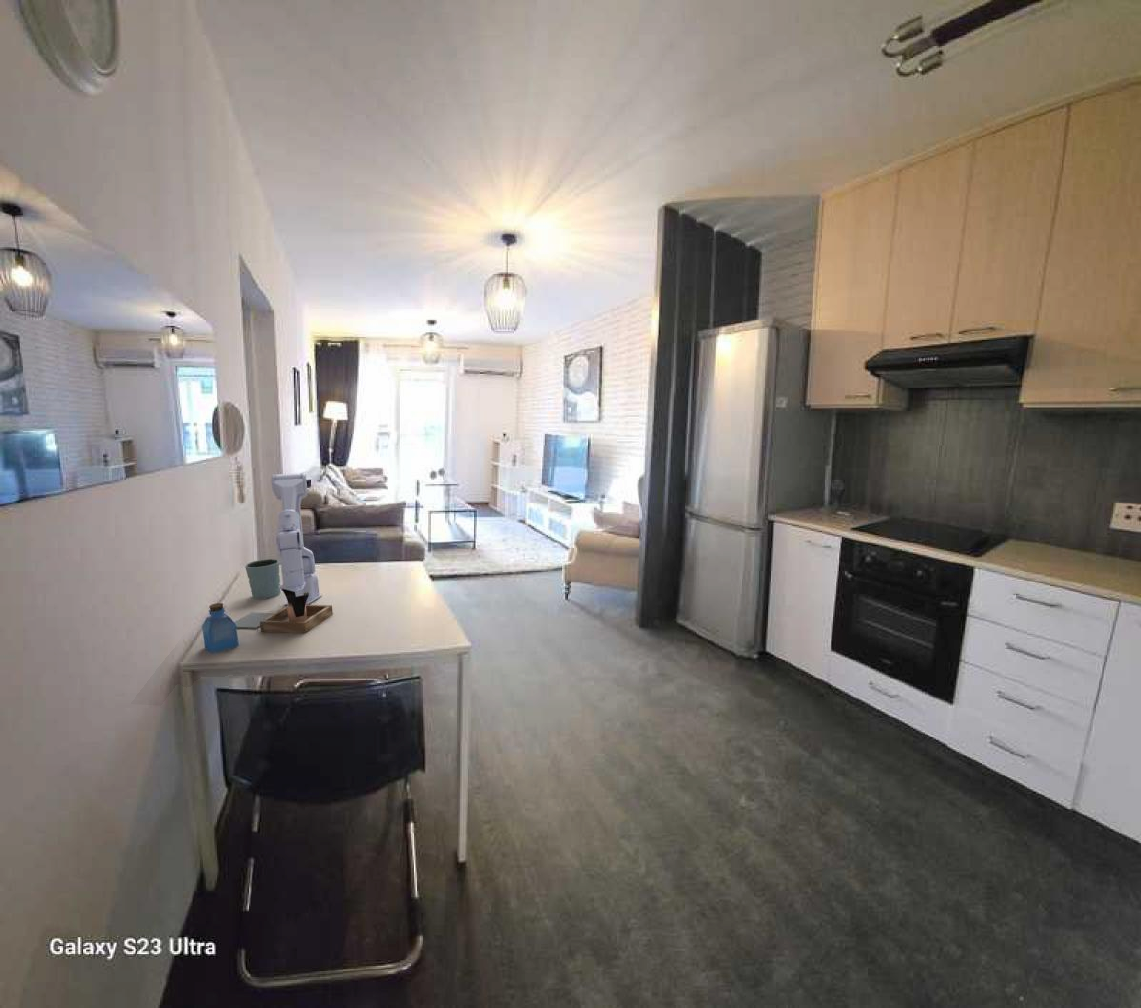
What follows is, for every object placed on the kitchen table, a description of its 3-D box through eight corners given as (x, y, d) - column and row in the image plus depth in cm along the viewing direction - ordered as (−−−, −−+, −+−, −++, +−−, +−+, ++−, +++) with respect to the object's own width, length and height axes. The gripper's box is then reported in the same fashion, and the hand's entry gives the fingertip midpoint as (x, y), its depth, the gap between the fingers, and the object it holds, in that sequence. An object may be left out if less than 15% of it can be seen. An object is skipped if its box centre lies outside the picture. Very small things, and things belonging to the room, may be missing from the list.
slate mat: (252, 613, 160) (252, 612, 160) (281, 614, 159) (281, 613, 159) (225, 628, 149) (225, 626, 149) (256, 629, 148) (256, 627, 148)
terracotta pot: (295, 619, 156) (293, 600, 154) (310, 619, 155) (309, 601, 154) (285, 625, 151) (283, 606, 150) (300, 626, 150) (298, 607, 149)
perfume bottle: (230, 639, 142) (225, 599, 139) (238, 645, 138) (233, 604, 136) (205, 647, 137) (199, 605, 135) (212, 653, 133) (206, 611, 131)
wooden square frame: (291, 613, 160) (290, 604, 160) (332, 614, 159) (331, 605, 158) (260, 631, 147) (259, 621, 146) (305, 632, 145) (304, 623, 145)
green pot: (288, 590, 181) (285, 559, 179) (269, 600, 172) (265, 567, 169) (262, 590, 182) (259, 558, 180) (242, 600, 173) (238, 566, 170)
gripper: (273, 567, 153) (277, 609, 155) (282, 578, 142) (287, 623, 144) (298, 562, 157) (302, 603, 160) (309, 573, 146) (313, 616, 149)
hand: (297, 612), depth 152 cm, fingers open, 7 cm apart
